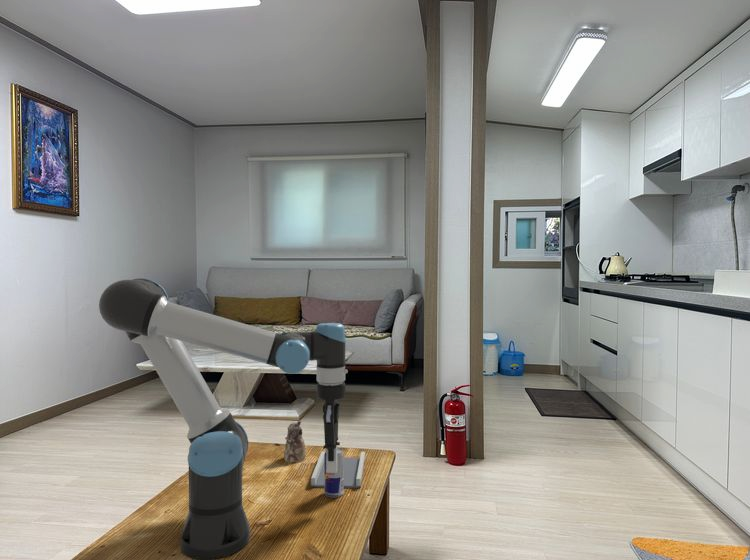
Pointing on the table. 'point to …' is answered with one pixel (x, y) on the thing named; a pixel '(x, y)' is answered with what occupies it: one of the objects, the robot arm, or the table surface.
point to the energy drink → (334, 477)
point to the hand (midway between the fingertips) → (331, 471)
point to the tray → (351, 472)
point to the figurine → (294, 444)
